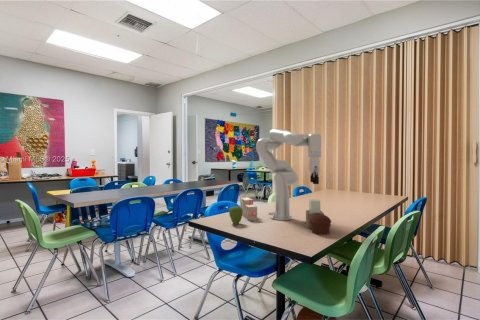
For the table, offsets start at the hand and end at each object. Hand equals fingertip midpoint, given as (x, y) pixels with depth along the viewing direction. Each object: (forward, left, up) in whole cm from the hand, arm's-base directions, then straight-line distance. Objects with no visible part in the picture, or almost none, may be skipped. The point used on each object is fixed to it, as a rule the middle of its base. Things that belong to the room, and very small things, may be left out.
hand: (314, 183), depth 162 cm
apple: (-48, +3, -27) cm, 55 cm away
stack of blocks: (-41, +23, -27) cm, 54 cm away
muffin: (+1, -12, -27) cm, 29 cm away
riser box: (0, -1, -26) cm, 26 cm away
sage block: (0, 0, -17) cm, 17 cm away
